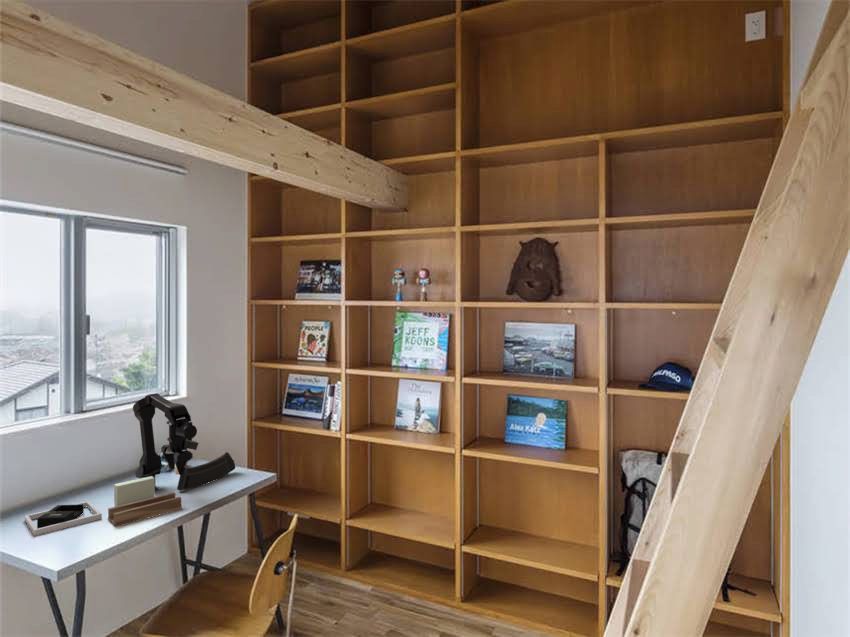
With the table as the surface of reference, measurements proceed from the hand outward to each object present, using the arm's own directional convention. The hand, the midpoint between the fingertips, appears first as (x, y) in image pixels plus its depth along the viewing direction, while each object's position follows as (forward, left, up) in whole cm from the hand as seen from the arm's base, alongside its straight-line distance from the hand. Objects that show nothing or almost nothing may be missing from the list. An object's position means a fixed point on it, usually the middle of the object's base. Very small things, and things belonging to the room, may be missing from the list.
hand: (176, 472), depth 219 cm
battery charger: (-10, -39, -13) cm, 42 cm away
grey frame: (-10, -38, -12) cm, 41 cm away
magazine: (-13, +19, -12) cm, 26 cm away
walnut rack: (+6, -14, -12) cm, 19 cm away
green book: (-7, -14, -12) cm, 20 cm away
